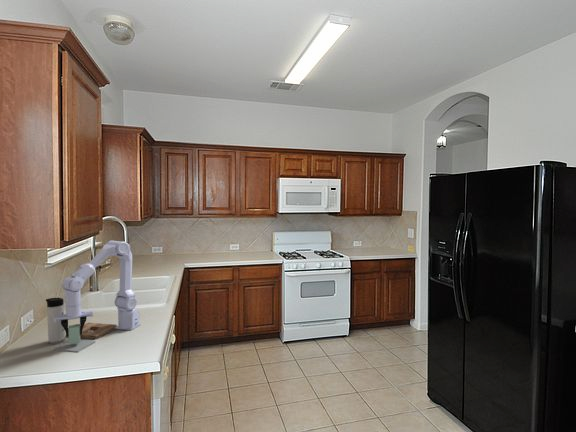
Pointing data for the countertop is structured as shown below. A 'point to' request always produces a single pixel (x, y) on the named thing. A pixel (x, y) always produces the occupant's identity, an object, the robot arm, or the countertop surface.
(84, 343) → the rubber mat
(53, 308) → the travel mug
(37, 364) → the countertop surface
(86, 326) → the pocket tray
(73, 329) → the green block
